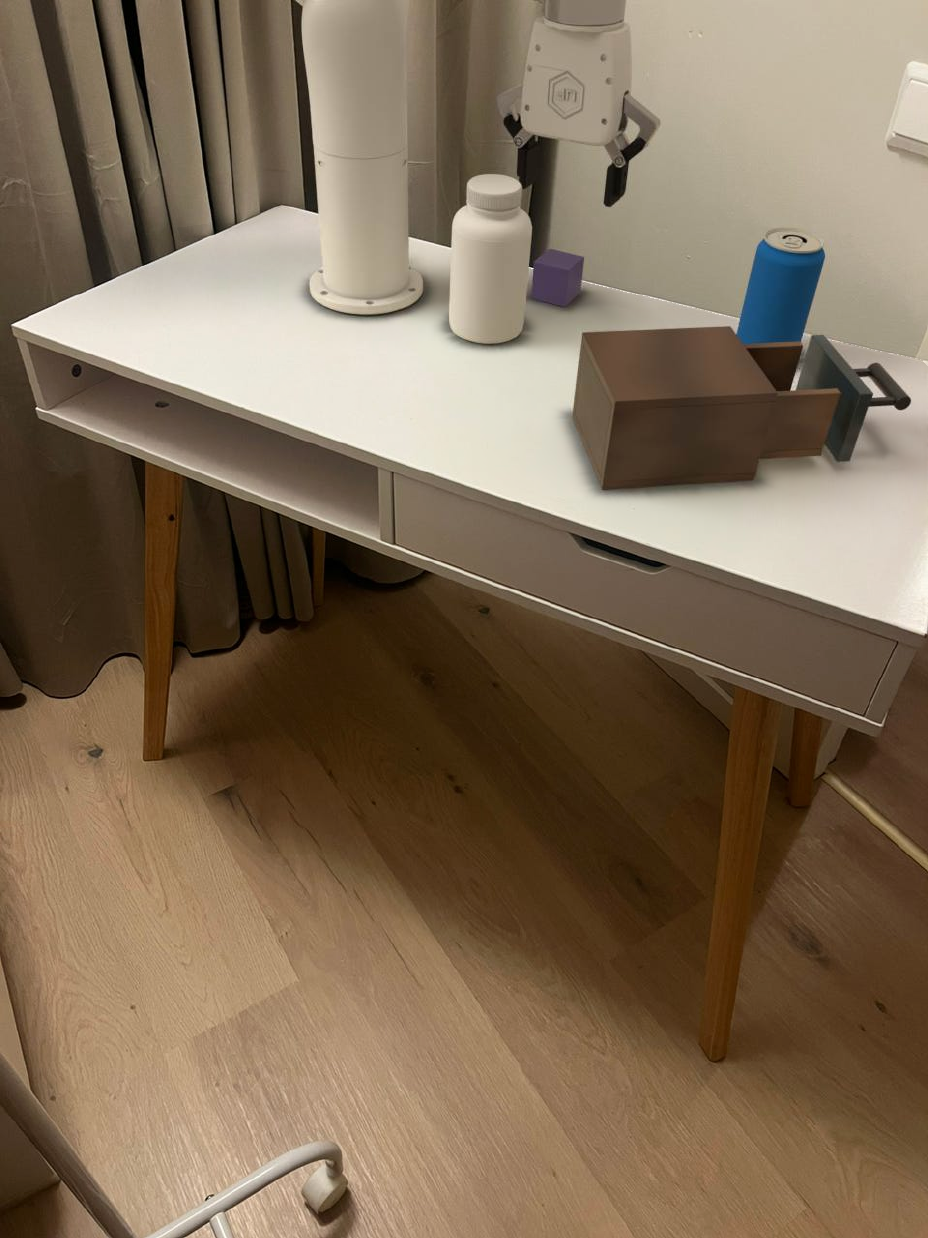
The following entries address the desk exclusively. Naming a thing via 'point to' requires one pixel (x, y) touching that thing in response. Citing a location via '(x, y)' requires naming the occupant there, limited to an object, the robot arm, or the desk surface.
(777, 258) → the beverage can
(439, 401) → the desk surface
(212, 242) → the desk surface
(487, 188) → the pill bottle
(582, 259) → the block
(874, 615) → the desk surface
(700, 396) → the wooden drawer cabinet
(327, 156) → the robot arm
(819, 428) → the drawer
